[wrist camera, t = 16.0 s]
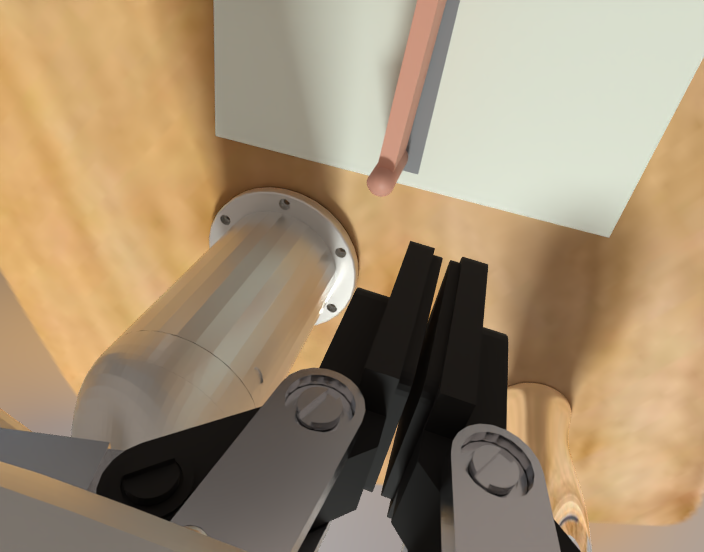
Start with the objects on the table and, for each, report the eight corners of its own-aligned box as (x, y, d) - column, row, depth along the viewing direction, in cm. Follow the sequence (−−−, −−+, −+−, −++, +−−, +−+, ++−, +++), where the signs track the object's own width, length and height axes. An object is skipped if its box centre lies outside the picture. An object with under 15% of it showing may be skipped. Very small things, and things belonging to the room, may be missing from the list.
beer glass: (481, 380, 43) (464, 552, 31) (569, 374, 40) (589, 562, 28) (498, 437, 46) (489, 614, 34) (582, 435, 43) (604, 628, 31)
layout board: (608, 235, 33) (609, 238, 33) (217, 134, 37) (215, 136, 37) (786, -107, 22) (789, -107, 22) (213, -196, 26) (210, -198, 26)
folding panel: (447, -104, 25) (434, -111, 22) (479, -96, 25) (471, -103, 21) (381, 164, 34) (364, 191, 30) (404, 171, 34) (390, 199, 30)
